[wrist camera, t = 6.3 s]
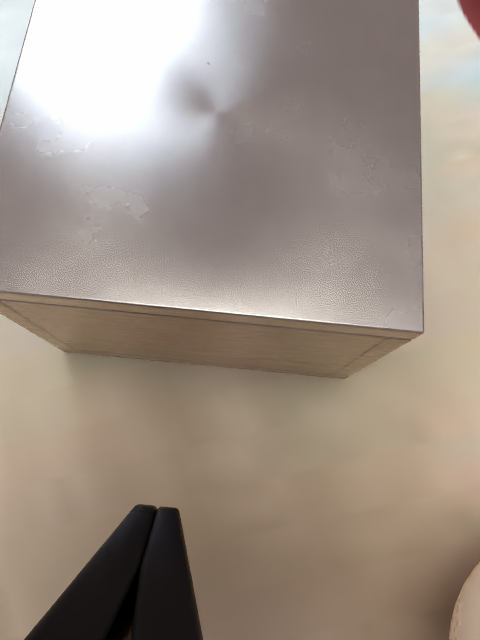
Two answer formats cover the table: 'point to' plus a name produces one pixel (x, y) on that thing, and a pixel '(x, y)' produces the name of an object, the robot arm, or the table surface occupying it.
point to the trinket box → (467, 610)
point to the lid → (218, 162)
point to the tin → (200, 340)
